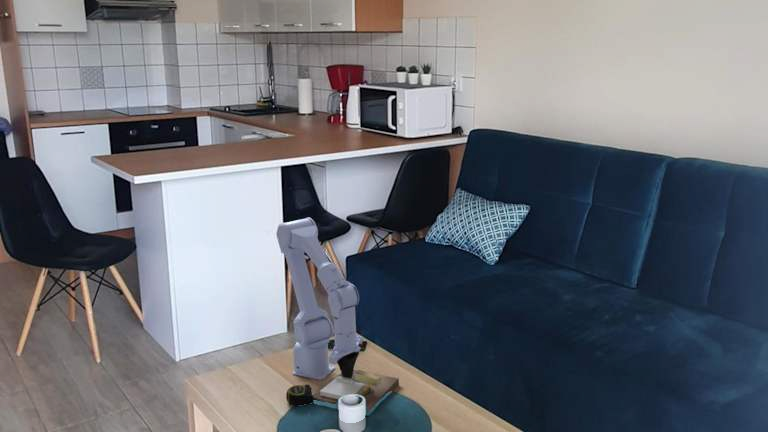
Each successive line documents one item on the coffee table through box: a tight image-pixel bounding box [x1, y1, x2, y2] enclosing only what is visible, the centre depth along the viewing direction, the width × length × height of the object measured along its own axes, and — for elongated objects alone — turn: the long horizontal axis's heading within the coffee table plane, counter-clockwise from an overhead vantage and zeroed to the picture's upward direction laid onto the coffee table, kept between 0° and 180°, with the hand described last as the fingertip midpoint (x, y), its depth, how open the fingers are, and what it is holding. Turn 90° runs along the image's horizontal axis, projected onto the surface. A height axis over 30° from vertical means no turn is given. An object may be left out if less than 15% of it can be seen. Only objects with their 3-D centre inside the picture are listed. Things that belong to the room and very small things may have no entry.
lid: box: [319, 375, 365, 399], centre depth 183 cm, size 9×8×2 cm
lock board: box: [313, 369, 400, 412], centre depth 186 cm, size 16×18×2 cm
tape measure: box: [285, 384, 314, 407], centre depth 183 cm, size 7×7×4 cm
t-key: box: [355, 369, 381, 396], centre depth 181 cm, size 5×7×5 cm, turn 54°
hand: (347, 378), depth 187 cm, fingers closed
